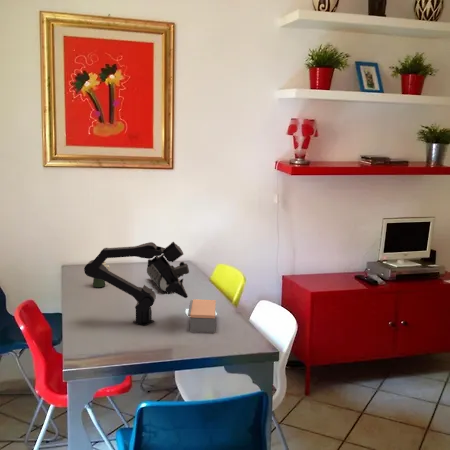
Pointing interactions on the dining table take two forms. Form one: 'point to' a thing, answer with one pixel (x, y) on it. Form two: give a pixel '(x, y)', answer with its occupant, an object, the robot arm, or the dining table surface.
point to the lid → (202, 308)
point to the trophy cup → (97, 281)
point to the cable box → (202, 325)
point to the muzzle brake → (156, 277)
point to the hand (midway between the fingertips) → (186, 297)
